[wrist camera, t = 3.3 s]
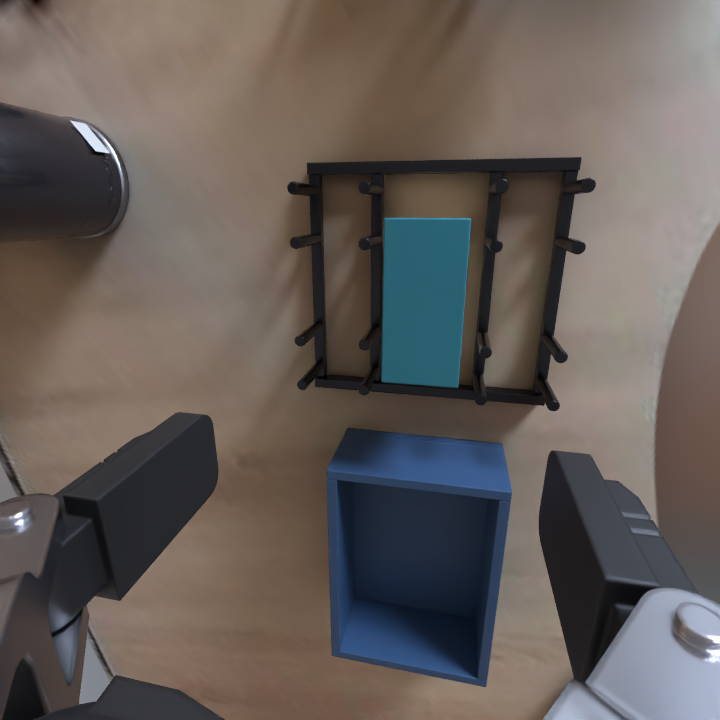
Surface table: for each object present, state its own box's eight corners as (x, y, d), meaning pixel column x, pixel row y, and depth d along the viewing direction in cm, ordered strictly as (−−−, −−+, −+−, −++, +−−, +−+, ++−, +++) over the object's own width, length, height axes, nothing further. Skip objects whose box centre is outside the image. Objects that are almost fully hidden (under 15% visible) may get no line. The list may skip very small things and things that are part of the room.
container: (396, 347, 37) (381, 382, 29) (400, 215, 33) (384, 217, 26) (458, 350, 36) (457, 388, 28) (468, 216, 32) (471, 218, 25)
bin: (481, 617, 44) (486, 687, 37) (349, 593, 47) (331, 656, 40) (502, 443, 38) (512, 492, 31) (347, 427, 40) (326, 470, 34)
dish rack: (318, 381, 39) (298, 407, 34) (311, 164, 33) (285, 156, 28) (541, 399, 36) (555, 431, 31) (577, 159, 30) (601, 149, 25)
